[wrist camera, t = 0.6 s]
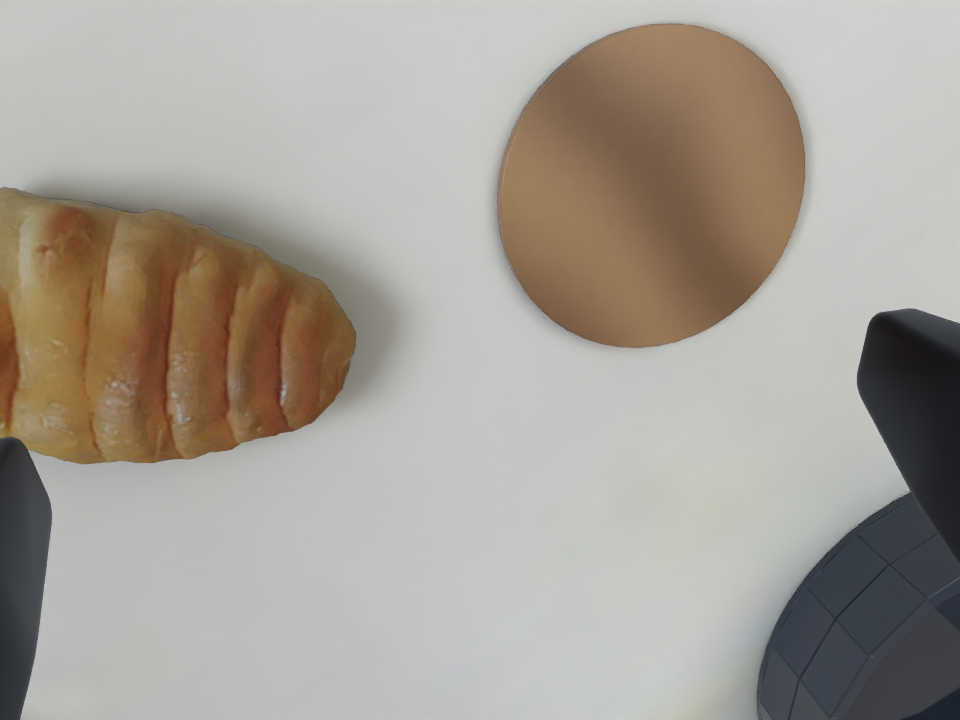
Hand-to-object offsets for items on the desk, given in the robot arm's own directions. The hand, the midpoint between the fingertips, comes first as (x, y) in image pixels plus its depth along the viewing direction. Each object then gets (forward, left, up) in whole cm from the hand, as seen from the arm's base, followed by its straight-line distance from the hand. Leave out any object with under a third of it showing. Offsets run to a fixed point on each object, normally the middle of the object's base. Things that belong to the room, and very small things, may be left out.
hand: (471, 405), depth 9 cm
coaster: (+5, -7, -15) cm, 17 cm away
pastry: (-6, +2, -15) cm, 16 cm away
